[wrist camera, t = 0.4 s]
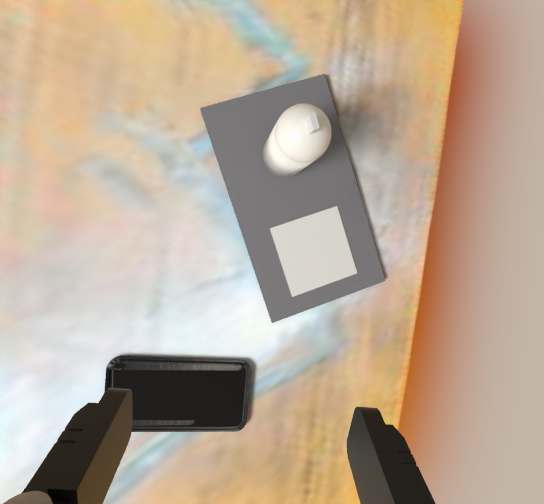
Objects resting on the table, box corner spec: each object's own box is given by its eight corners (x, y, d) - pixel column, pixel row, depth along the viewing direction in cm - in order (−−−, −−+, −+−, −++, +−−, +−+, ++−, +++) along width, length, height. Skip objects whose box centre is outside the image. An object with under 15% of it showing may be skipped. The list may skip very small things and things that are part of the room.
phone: (107, 358, 35) (251, 362, 37) (110, 354, 36) (250, 359, 39) (101, 432, 35) (245, 432, 38) (105, 426, 36) (244, 426, 39)
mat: (200, 110, 36) (200, 107, 35) (323, 76, 38) (325, 73, 37) (271, 321, 38) (272, 323, 38) (382, 279, 40) (385, 280, 39)
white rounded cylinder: (256, 139, 36) (274, 97, 25) (298, 127, 37) (334, 80, 25) (270, 183, 37) (294, 161, 25) (311, 170, 37) (352, 143, 26)
